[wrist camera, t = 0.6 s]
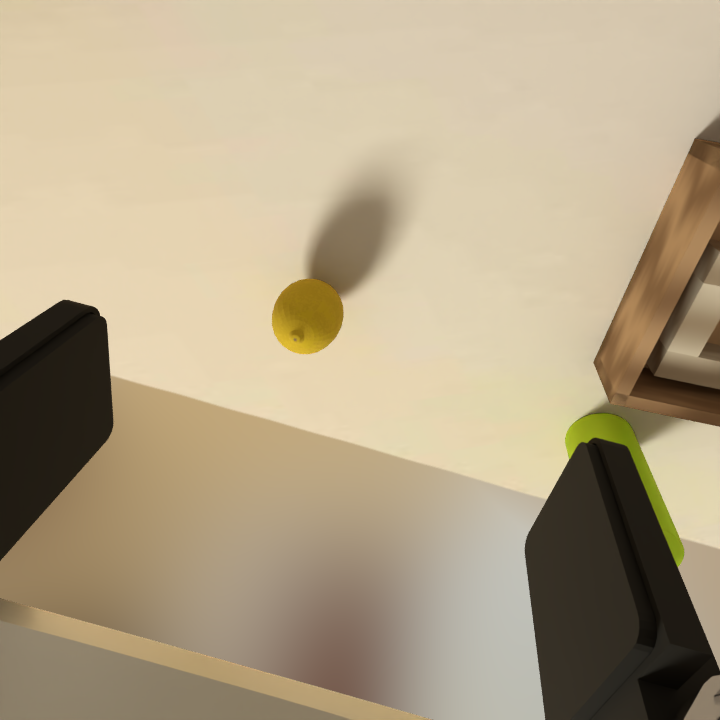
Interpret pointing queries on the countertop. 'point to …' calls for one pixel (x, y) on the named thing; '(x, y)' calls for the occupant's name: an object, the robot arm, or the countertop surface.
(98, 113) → the countertop surface
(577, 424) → the soap dispenser
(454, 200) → the countertop surface
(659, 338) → the crate
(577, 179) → the countertop surface
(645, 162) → the countertop surface
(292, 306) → the lemon
